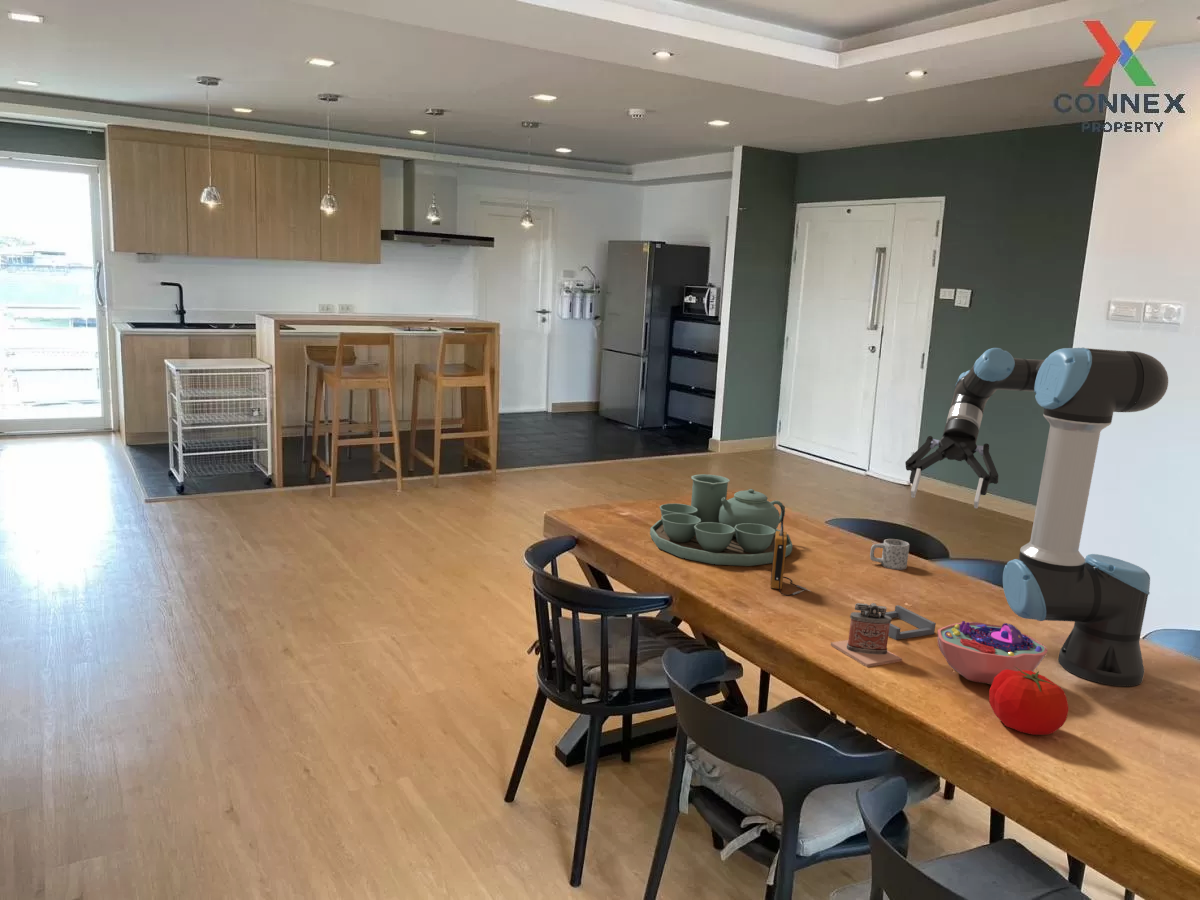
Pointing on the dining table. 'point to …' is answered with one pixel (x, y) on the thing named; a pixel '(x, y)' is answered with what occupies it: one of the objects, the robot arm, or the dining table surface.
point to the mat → (866, 655)
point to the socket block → (912, 618)
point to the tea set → (720, 525)
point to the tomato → (1028, 702)
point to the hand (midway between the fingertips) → (943, 499)
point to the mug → (892, 554)
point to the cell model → (988, 650)
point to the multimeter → (780, 559)
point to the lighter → (869, 629)
